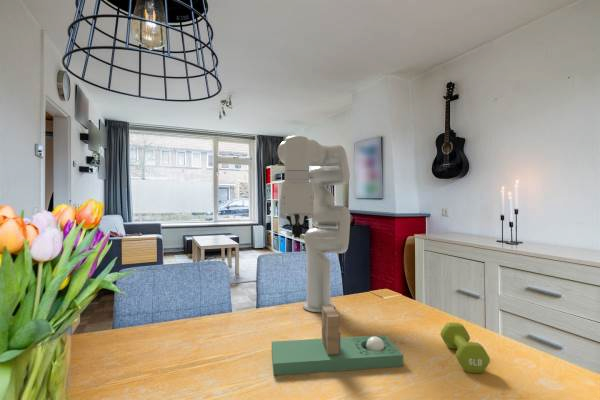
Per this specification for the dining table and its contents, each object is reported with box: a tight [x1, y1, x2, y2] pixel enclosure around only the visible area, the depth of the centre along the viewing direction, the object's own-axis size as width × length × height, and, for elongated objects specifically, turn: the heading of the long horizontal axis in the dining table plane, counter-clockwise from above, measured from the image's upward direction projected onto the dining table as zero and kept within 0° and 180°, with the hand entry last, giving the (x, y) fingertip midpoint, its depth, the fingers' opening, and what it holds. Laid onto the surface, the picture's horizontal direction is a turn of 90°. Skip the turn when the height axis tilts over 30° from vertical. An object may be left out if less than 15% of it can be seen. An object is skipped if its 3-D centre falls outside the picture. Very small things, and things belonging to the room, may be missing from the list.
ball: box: [366, 335, 385, 351], centre depth 89 cm, size 5×5×5 cm
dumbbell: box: [440, 322, 491, 374], centre depth 88 cm, size 16×8×7 cm, turn 172°
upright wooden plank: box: [321, 306, 341, 355], centre depth 87 cm, size 8×4×10 cm, turn 7°
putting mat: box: [271, 334, 404, 376], centre depth 88 cm, size 12×34×3 cm, turn 97°
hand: (296, 237), depth 98 cm, fingers closed
